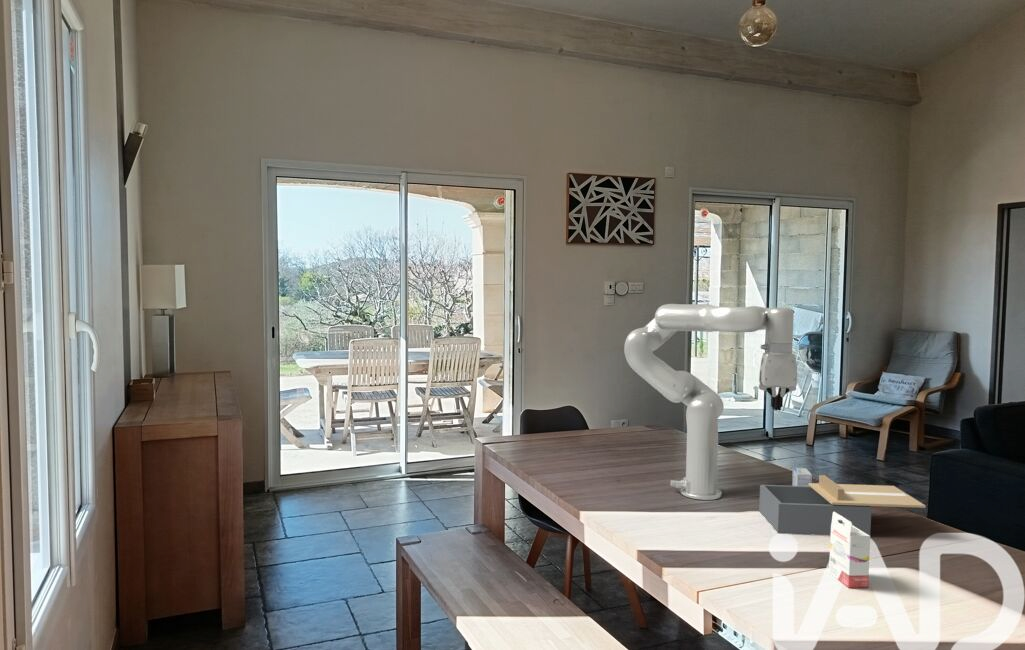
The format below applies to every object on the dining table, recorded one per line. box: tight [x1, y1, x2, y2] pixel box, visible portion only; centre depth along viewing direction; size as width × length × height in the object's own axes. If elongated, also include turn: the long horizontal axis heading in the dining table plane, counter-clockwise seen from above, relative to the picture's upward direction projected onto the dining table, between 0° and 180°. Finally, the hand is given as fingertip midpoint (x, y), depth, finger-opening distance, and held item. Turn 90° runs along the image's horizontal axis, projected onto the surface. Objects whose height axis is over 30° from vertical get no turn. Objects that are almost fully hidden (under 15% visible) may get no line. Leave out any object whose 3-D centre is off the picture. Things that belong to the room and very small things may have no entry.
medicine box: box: [791, 467, 813, 486], centre depth 221 cm, size 8×4×9 cm, turn 168°
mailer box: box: [758, 484, 872, 536], centre depth 197 cm, size 24×18×8 cm
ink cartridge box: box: [828, 512, 871, 589], centre depth 159 cm, size 9×5×15 cm, turn 5°
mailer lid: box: [809, 474, 927, 509], centre depth 196 cm, size 24×18×4 cm
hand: (776, 409), depth 212 cm, fingers closed
